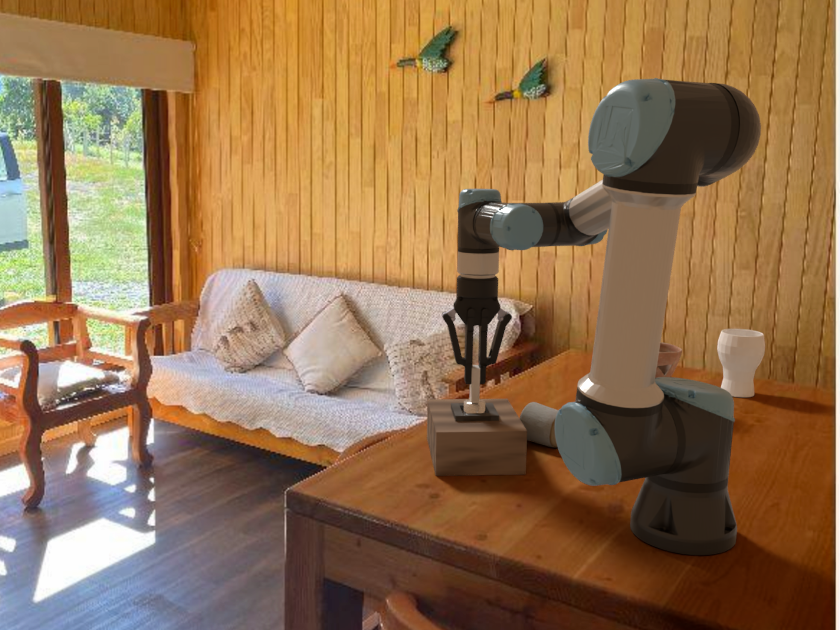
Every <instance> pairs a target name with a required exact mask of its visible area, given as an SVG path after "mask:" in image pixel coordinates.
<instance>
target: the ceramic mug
mask: <svg viewBox="0 0 840 630" xmlns="http://www.w3.org/2000/svg"><path fill="white" fill-rule="evenodd" d="M558 411H559V409H556V408H553V407H550V406H547V405H544V404H542V403H538V402H537V401H531V402H529V403H527V404H526V405H525V406H524V408H523V409H522V411H521V413H520V415H519V419H520V420H521V422H522V423H523V425H524V427H525V428H526V430H527V442H528V441H529V442H533V443H536V444H539V445H542V446H545V447H549V448H558V446H557V443H556V438H555V419H556V415H557V413H558Z"/></svg>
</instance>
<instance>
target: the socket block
mask: <svg viewBox="0 0 840 630" xmlns="http://www.w3.org/2000/svg"><path fill="white" fill-rule="evenodd" d="M468 399H469V398H455V399H453V398H447V399H446V398H445V399H443V398H441V399H440V398H439V399H438V398H437V399H435V398H434V399H430V398H429V399H428V398H427V401H426V403H427V405H426V406H427V407H426V408H427V409H426V410H427V411H426V413H427V414H426V440H427V444H428V445H427V446H428V449H429V453H430V456H431V461H432V467H433V470H434V475H435V477H437V476H439V477H440V476H441V477H443V476H445V477H446V476H454V477H455V476H502V475H505V476H506V475H509V476H510V475H519V476H520V475H526V474H527V473H526V471H527V444H528V440H527V430H526V428H525V427H524V425H523V423H522V422H521V420H520V419H519V418H520V416H519V415H518V414H517V412H516V410H515V408H514V407H513V405H512V404H511V402H510V400H509V399H508V398H479V400H483V401H485V413H464V401H465V400H468Z"/></svg>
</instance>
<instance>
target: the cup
mask: <svg viewBox="0 0 840 630" xmlns="http://www.w3.org/2000/svg"><path fill="white" fill-rule="evenodd" d="M716 348H717V354H718V359H719V361H720V363H721V366H722V373H723V376H722V377H723V378H722V381H721V384H720V385H721V386H720V388H722V389H724V390H726V391H728V392H729V393H730V394H731V396H732V397H733V398H734V397H735V398H751V397H754V396H755V384H754V378H755V373H756V370H757V369H758V367H759V365H760V364H761V363H762V360H763V359H764V356H765V353H766V340H765V335H764V333H763V332H760V331H758V330H753V329H745V328H725V329H721V331H720V333H719V336H718V340H717V347H716Z"/></svg>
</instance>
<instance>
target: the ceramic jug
mask: <svg viewBox="0 0 840 630" xmlns="http://www.w3.org/2000/svg"><path fill="white" fill-rule="evenodd" d="M682 352H683V349H682V348H681V347H679V346H677V345H674V344H671V343H667V342H660V349H659V355H658V362H657V368H656V375H655V378H658V377H673V374H674V373H675V370H676V369H677V366H678V364H679V362H680V360H681V356H682Z"/></svg>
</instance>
